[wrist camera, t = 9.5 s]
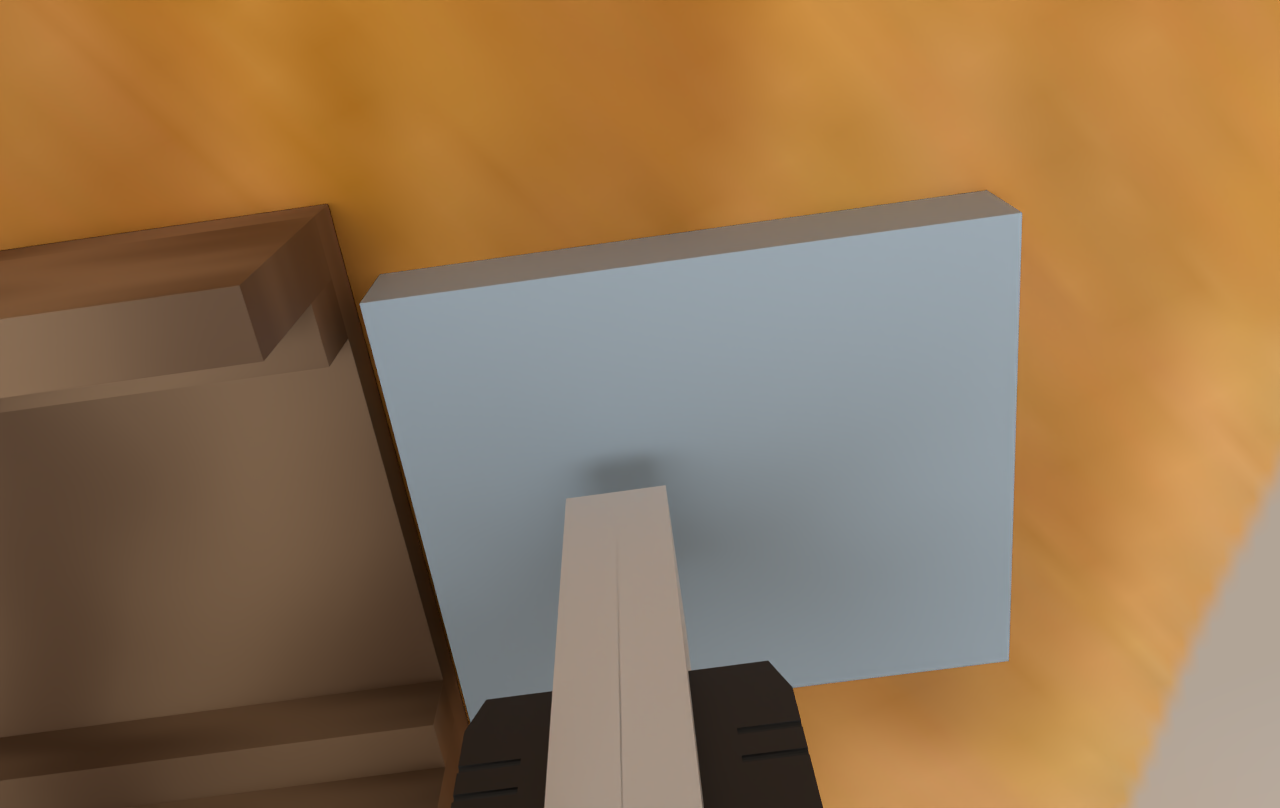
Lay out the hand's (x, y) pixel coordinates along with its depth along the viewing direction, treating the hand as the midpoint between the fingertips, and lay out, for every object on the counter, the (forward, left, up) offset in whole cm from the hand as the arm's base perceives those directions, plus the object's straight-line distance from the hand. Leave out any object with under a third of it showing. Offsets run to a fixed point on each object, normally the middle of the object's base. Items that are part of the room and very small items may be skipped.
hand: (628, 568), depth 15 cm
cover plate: (+1, 0, -4) cm, 4 cm away
